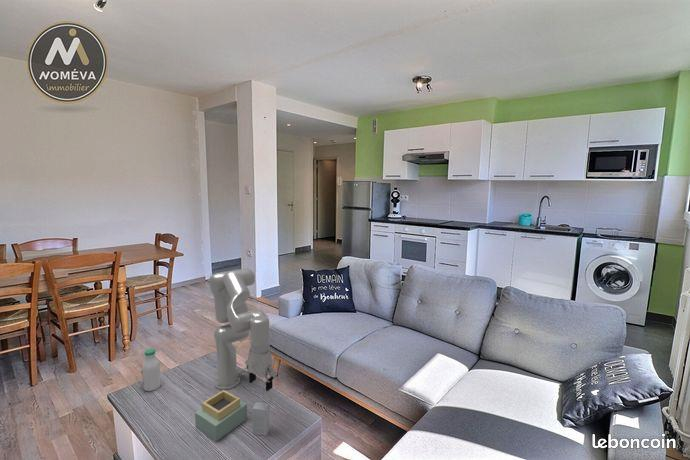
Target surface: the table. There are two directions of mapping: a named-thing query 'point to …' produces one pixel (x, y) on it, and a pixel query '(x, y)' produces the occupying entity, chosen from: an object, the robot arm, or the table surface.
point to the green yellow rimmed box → (220, 415)
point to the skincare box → (260, 418)
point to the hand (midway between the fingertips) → (260, 385)
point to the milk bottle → (151, 371)
